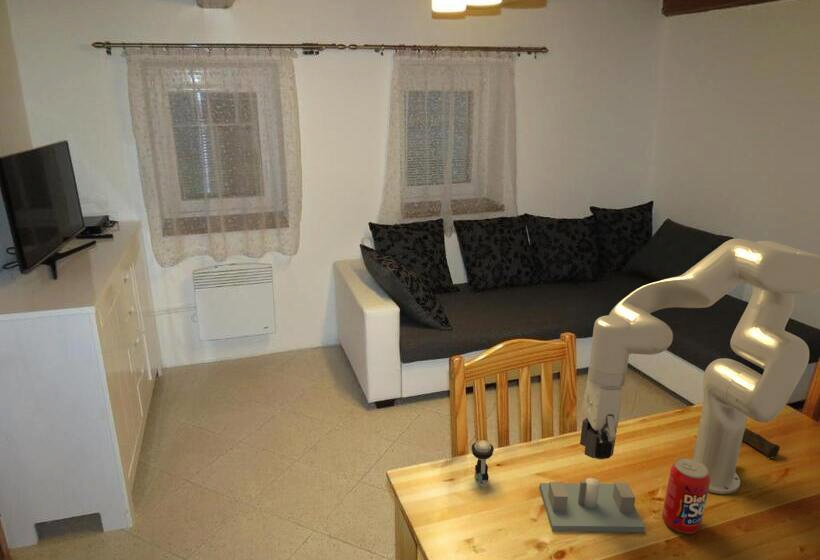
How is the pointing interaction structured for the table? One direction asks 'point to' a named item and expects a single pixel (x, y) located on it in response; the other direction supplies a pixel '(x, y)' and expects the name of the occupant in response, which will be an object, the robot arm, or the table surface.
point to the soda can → (686, 495)
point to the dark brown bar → (760, 443)
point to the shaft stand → (591, 507)
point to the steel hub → (592, 439)
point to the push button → (482, 460)
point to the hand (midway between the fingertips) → (596, 445)
